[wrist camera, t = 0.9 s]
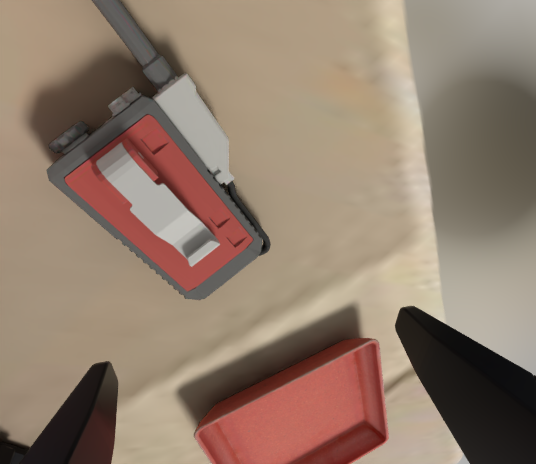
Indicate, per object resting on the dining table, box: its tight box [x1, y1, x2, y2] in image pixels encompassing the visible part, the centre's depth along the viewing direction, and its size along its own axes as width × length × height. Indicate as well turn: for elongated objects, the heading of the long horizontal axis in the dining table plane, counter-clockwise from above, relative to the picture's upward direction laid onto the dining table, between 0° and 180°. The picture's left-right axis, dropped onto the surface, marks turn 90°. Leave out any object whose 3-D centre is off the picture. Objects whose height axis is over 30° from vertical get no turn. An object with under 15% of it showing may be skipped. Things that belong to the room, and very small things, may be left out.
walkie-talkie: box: [47, 0, 271, 300], centre depth 17 cm, size 9×4×20 cm
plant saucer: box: [194, 338, 389, 464], centre depth 33 cm, size 18×18×3 cm
